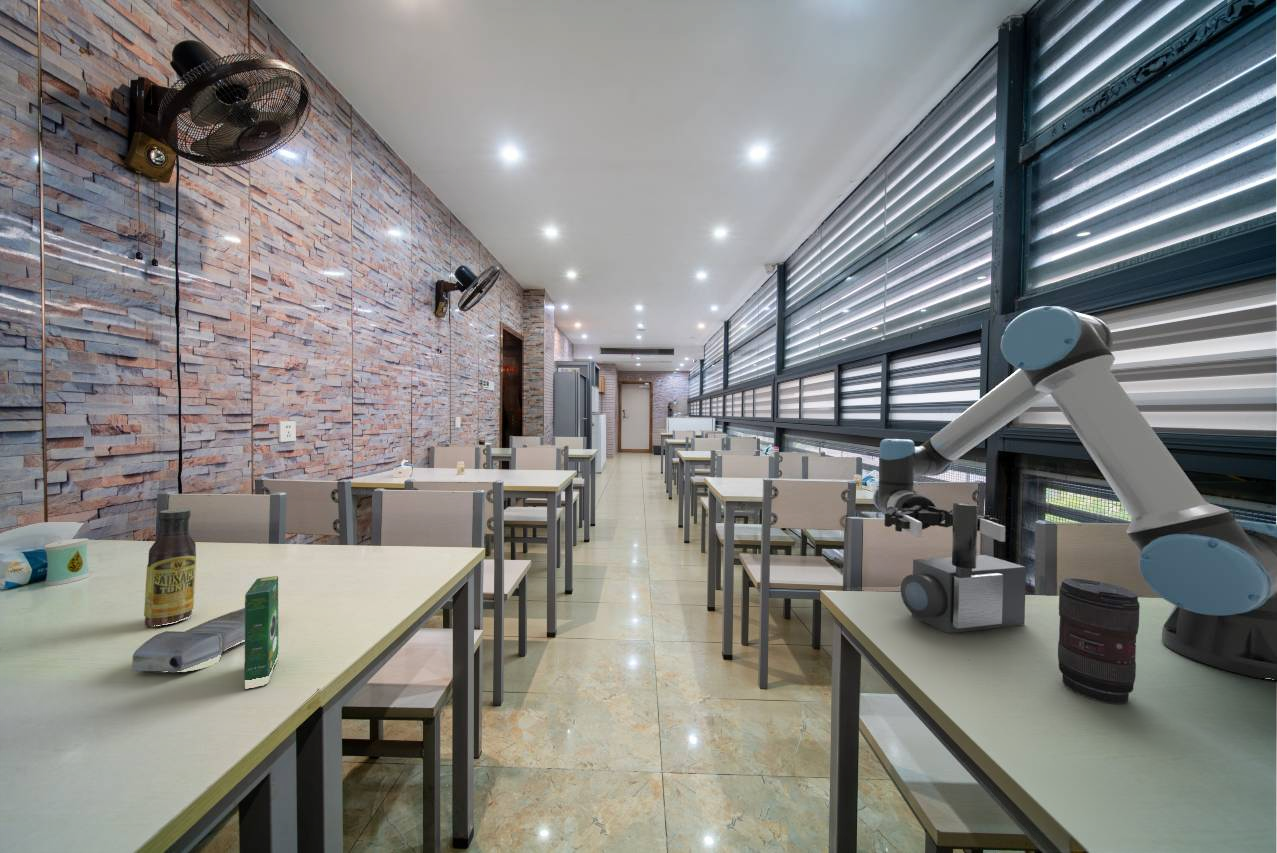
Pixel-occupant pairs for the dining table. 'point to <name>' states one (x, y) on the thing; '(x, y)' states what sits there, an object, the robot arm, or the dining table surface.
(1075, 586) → the camera lens
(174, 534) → the sauce bottle
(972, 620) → the side door
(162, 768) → the dining table surface
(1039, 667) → the dining table surface
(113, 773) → the dining table surface
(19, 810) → the dining table surface
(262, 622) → the coffee box
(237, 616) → the handheld device
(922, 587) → the camera housing
